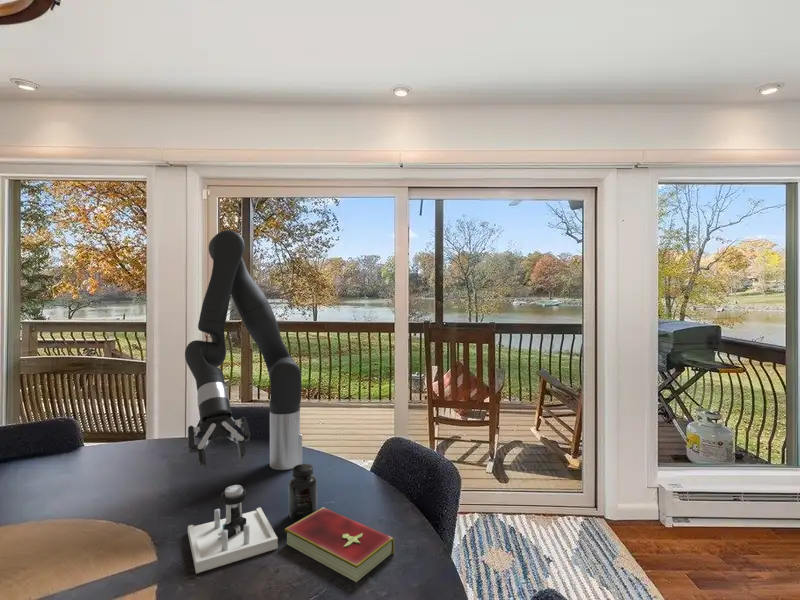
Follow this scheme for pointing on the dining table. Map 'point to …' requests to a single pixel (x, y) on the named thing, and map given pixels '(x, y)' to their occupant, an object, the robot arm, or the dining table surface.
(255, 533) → the tray
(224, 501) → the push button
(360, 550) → the hardcover book
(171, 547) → the dining table surface
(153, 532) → the dining table surface
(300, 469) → the supplement bottle
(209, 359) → the robot arm
